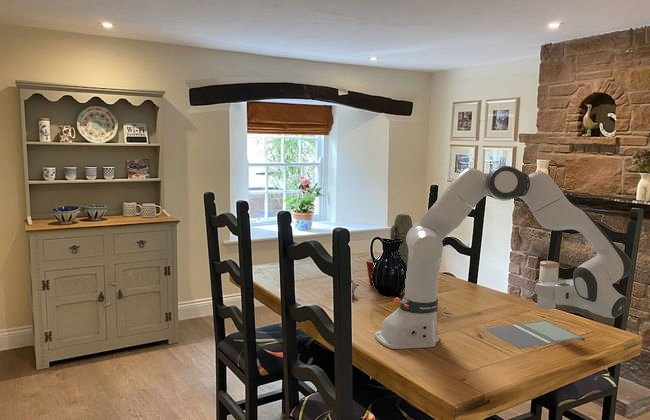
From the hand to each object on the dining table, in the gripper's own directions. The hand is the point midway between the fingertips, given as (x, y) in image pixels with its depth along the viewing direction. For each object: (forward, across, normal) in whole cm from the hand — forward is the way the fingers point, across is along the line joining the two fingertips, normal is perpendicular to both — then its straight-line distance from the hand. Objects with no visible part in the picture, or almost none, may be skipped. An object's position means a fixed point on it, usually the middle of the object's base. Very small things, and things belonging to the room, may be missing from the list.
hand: (546, 281), depth 183 cm
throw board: (0, +5, +19) cm, 20 cm away
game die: (+61, +50, +19) cm, 81 cm away
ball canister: (-1, 0, +9) cm, 9 cm away
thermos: (+60, +25, +19) cm, 67 cm away
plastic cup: (+73, +30, +19) cm, 81 cm away
